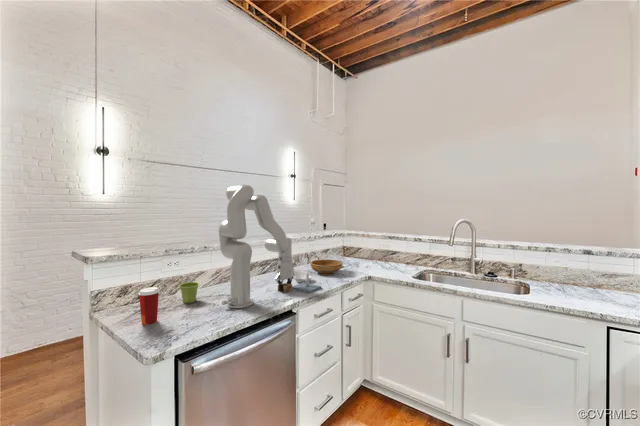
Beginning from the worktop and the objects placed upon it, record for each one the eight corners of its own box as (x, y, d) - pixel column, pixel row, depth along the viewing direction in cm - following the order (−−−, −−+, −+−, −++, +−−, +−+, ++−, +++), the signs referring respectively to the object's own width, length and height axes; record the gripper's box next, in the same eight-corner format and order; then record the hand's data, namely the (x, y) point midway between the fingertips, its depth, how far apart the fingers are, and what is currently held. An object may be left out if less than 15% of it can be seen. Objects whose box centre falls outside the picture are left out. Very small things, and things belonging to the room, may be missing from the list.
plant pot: (203, 300, 147) (203, 283, 147) (186, 305, 139) (186, 288, 139) (192, 297, 152) (191, 281, 152) (175, 302, 144) (175, 285, 143)
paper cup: (163, 318, 123) (163, 286, 123) (153, 325, 115) (153, 292, 115) (145, 318, 123) (144, 286, 122) (134, 326, 115) (133, 292, 115)
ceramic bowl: (300, 273, 207) (300, 262, 207) (321, 267, 226) (321, 257, 226) (332, 279, 188) (332, 268, 188) (352, 273, 207) (352, 262, 207)
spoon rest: (315, 282, 183) (315, 271, 182) (300, 285, 175) (300, 274, 175) (295, 275, 201) (295, 265, 201) (281, 277, 194) (281, 267, 194)
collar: (285, 293, 159) (285, 286, 159) (277, 291, 163) (277, 285, 163) (292, 290, 164) (292, 284, 164) (284, 288, 168) (284, 282, 168)
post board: (309, 293, 159) (309, 277, 159) (290, 288, 168) (290, 273, 167) (321, 288, 169) (321, 273, 169) (303, 284, 177) (303, 269, 177)
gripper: (279, 261, 154) (279, 294, 154) (299, 257, 168) (299, 287, 168) (269, 260, 158) (269, 291, 159) (290, 256, 172) (290, 285, 173)
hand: (285, 289), depth 164 cm, fingers closed on collar, 6 cm apart
